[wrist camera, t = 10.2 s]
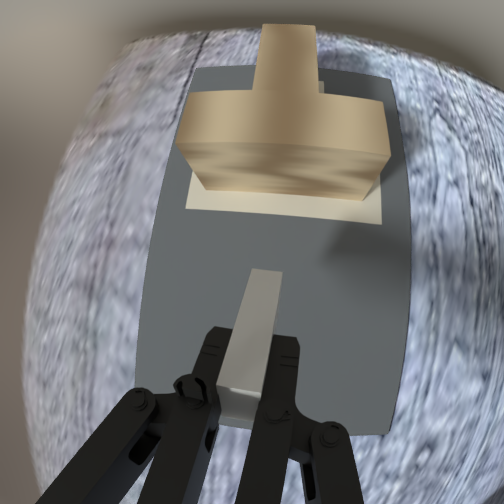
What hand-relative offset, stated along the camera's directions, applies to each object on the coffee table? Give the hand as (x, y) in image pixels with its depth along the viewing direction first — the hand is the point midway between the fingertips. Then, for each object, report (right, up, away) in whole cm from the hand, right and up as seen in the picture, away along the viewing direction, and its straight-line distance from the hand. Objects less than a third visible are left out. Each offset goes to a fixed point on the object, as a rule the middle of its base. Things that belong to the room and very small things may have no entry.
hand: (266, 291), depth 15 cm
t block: (+2, +12, +8) cm, 15 cm away
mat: (+2, +5, +7) cm, 8 cm away
